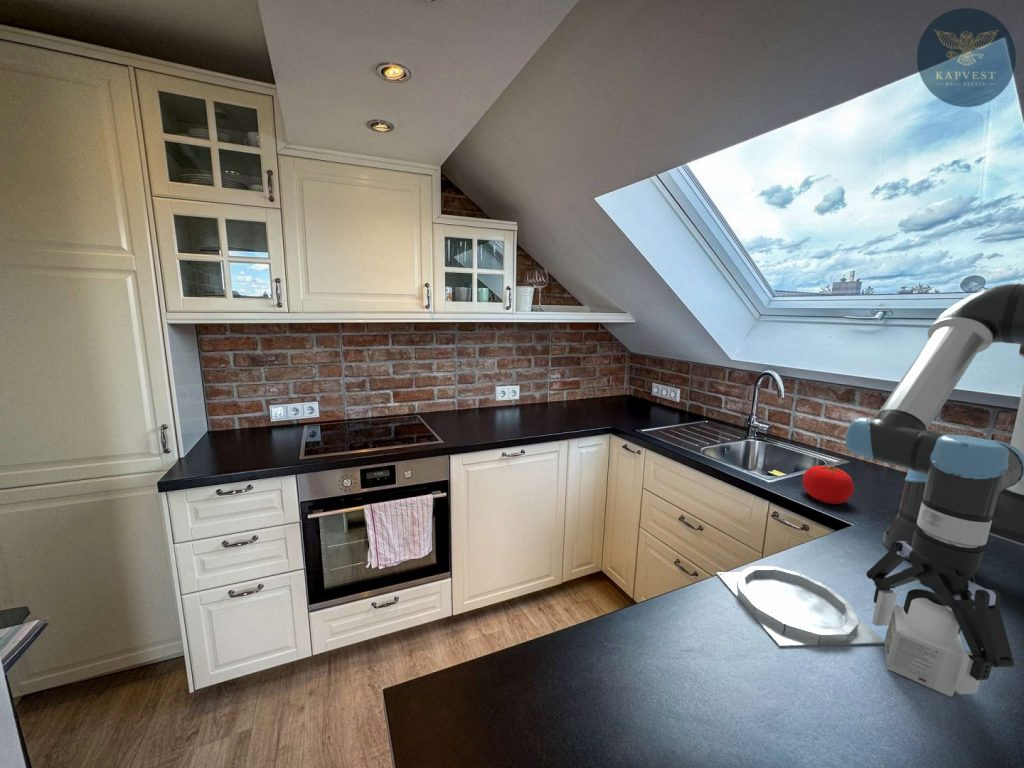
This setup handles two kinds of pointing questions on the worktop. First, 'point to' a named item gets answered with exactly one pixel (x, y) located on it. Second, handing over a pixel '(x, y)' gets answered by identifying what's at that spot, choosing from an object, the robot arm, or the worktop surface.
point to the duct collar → (798, 608)
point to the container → (925, 641)
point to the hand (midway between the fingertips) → (919, 654)
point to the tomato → (828, 484)
